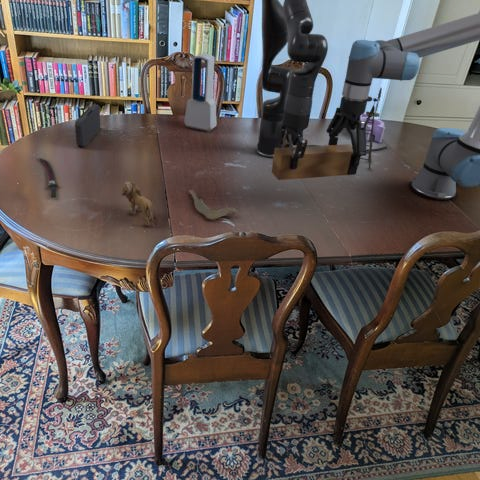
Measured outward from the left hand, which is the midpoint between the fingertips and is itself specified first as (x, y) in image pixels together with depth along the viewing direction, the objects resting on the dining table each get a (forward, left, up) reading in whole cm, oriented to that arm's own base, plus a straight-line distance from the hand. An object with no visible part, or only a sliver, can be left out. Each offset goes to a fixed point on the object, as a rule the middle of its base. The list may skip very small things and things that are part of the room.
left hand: (288, 164), depth 141 cm
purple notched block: (-79, -39, -15) cm, 90 cm away
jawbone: (+20, -10, -15) cm, 27 cm away
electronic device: (-11, -72, -15) cm, 74 cm away
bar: (-8, +2, -4) cm, 9 cm away
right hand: (-17, +5, -1) cm, 18 cm away
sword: (+60, -48, -15) cm, 78 cm away
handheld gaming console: (+36, -77, -15) cm, 86 cm away
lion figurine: (+43, -13, -15) cm, 47 cm away
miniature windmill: (-51, -15, -15) cm, 55 cm away
